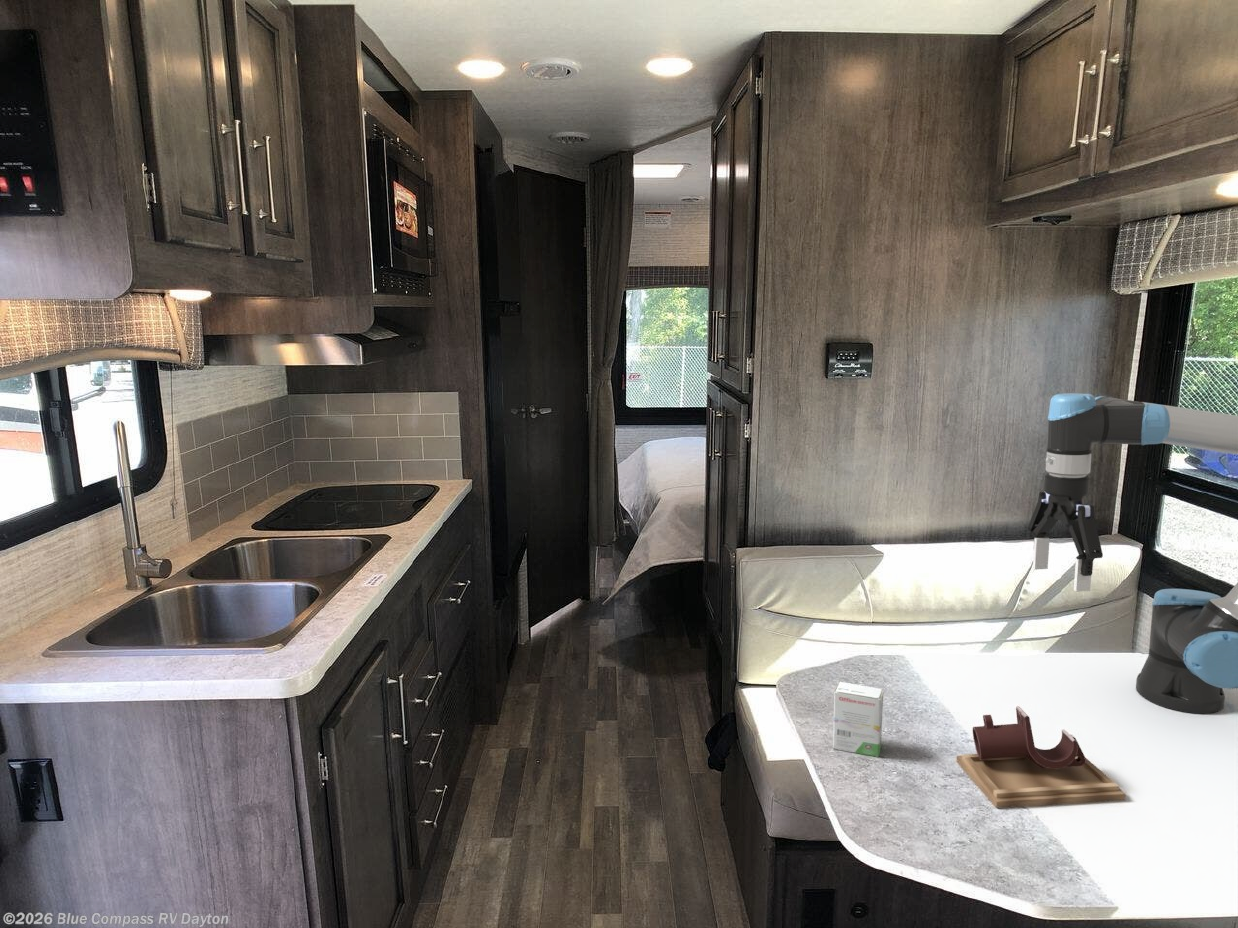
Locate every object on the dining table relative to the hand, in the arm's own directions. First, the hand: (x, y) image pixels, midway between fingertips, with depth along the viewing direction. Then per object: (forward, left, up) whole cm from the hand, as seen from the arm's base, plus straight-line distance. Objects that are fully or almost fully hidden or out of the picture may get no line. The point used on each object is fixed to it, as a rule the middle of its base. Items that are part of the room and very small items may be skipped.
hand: (1060, 579), depth 154 cm
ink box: (+43, +8, -29) cm, 52 cm away
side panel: (+16, +22, -29) cm, 40 cm away
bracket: (+16, +18, -27) cm, 36 cm away
